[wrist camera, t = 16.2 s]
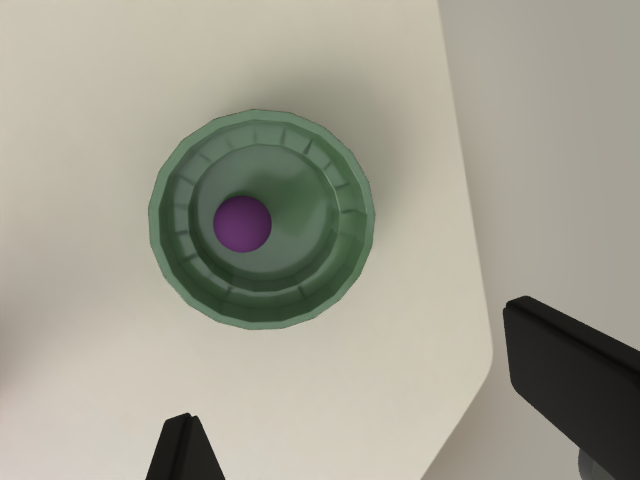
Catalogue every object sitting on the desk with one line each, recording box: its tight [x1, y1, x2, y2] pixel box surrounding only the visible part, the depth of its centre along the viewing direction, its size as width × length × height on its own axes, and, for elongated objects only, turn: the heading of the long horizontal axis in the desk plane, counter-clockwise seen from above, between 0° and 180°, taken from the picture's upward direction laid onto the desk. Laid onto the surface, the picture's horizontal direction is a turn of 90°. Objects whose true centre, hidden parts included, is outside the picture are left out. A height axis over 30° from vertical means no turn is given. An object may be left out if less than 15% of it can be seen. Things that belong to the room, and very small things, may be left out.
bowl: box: [148, 109, 375, 330], centre depth 24 cm, size 14×14×5 cm
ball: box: [213, 195, 272, 253], centre depth 24 cm, size 4×4×4 cm
